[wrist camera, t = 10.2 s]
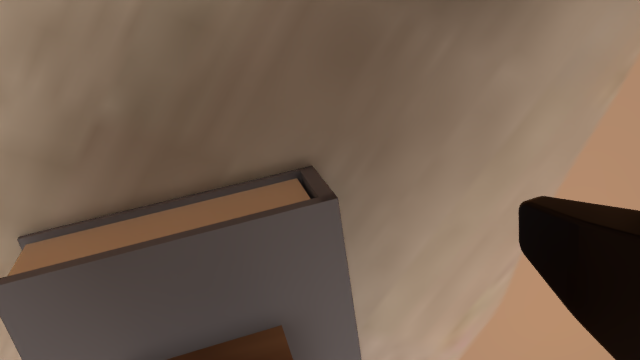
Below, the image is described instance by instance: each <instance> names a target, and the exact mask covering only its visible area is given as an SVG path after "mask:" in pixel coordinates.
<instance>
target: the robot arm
mask: <svg viewBox="0 0 640 360" xmlns="http://www.w3.org/2000/svg"><path fill="white" fill-rule="evenodd" d="M519 243H520V247H521V250H522V252H523V253H524V255H525V256H526V257H527V259H528V260H529V261H530V262H531V264H532V265H533V266H534V267H535V269H536V270H537V271H538V272H539V274H540V275H541V276H542V277H543V279H544V280H545V281H546V283H547V284H548V285H549V286H550V287H551V289H552V290H553V291H554V292H555V294H556V295H557V296H558V298H559V299H560V300H561V301H562V302H563V304H564V305H565V306H566V307H567V309H568V310H569V311H570V312H571V313H572V315H573V316H574V317H575V318H576V319H577V320H578V321H579V322H580V323H581V324H582V326H583V327H584V328H585V329H586V330H587V331H588V332H589V333H590V334H591V335H592V336H593V337H594V338H595V339H596V340H597V341H598V342H599V343H600V344H601V345H602V346H603V347H604V348H605V349H606V350H607V351H608V352H609V353H610V354H611V355H612V356H613V358H615V360H640V211H638V210H631V209H625V208H618V207H612V206H605V205H598V204H591V203H585V202H579V201H573V200H566V199H559V198H553V197H547V196H540V197H536V198H533V199H530V200H527V201H524V202H522V203H521V205H520V207H519Z"/></svg>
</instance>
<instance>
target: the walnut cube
mask: <svg viewBox="0 0 640 360" xmlns="http://www.w3.org/2000/svg"><path fill="white" fill-rule="evenodd" d="M167 360H293V358H292V355H291V352H290V349H289V346H288V343H287V340H286V337H285V334H284V331H283V328H282V325H280V326H277V327H274V328H270V329H267V330H264V331H260V332H257V333H254V334H250V335H247V336H243V337H240V338H237V339H233V340H230V341H227V342H223V343H220V344H217V345H213V346H210V347H207V348H203V349H200V350H197V351H193V352H190V353H187V354H183V355H180V356H177V357H173V358H170V359H167Z"/></svg>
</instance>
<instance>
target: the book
mask: <svg viewBox="0 0 640 360" xmlns="http://www.w3.org/2000/svg"><path fill="white" fill-rule="evenodd" d="M17 240H18V242H19V244H20V247H21V249H22V252H21V254H20V255H19V257H18V259H17V261H16V262H15V264H14V266H13V267H12V269H11V271H10V273H9V274H8V276H7V277H3V278H0V317H1V319H2V321H3V323H4V325H5V327H6V329H7V331H8V333H9V335H10V337H11V339H12V341H13V343H14V345H15V347H16V349H17V351H18V353H19V355H20V357H21V359H22V360H167V359H170V358H173V357H177V356H180V355H183V354H187V353H190V352H193V351H197V350H200V349H203V348H207V347H210V346H213V345H217V344H220V343H223V342H227V341H230V340H233V339H237V338H240V337H243V336H247V335H250V334H254V333H257V332H260V331H264V330H267V329H270V328H274V327H277V326H280V325H282V328H283V331H284V334H285V337H286V340H287V343H288V346H289V349H290V352H291V355H292V358H293V360H361V353H360V346H359V339H358V332H357V326H356V319H355V312H354V305H353V298H352V291H351V284H350V278H349V271H348V264H347V257H346V250H345V243H344V237H343V230H342V223H341V216H340V209H339V202H338V198H337V196H336V195H335V194H334V193H333V191H332V190H331V189H330V188H329V186H328V185H327V184H326V183H325V181H324V180H323V179H322V178H321V176H320V175H319V174H318V173H317V171H316V170H315V169H314V168H313V166H309V167H305V168H301V169H297V170H292V171H288V172H284V173H280V174H276V175H272V176H268V177H264V178H259V179H255V180H251V181H247V182H243V183H239V184H235V185H231V186H226V187H222V188H218V189H214V190H210V191H206V192H202V193H197V194H193V195H189V196H185V197H181V198H177V199H173V200H169V201H164V202H160V203H156V204H152V205H148V206H144V207H140V208H136V209H131V210H127V211H123V212H119V213H115V214H111V215H107V216H103V217H98V218H94V219H90V220H86V221H82V222H78V223H74V224H69V225H65V226H61V227H57V228H53V229H49V230H45V231H41V232H36V233H32V234H28V235H24V236H20V237H18V239H17Z"/></svg>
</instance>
